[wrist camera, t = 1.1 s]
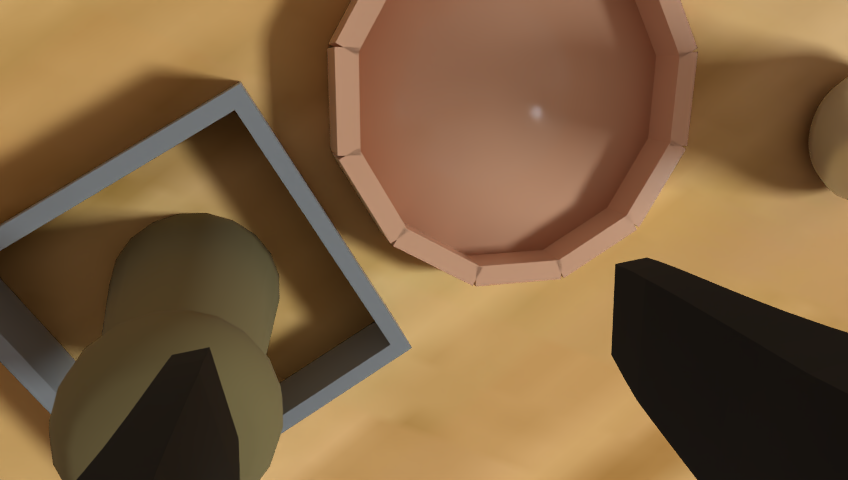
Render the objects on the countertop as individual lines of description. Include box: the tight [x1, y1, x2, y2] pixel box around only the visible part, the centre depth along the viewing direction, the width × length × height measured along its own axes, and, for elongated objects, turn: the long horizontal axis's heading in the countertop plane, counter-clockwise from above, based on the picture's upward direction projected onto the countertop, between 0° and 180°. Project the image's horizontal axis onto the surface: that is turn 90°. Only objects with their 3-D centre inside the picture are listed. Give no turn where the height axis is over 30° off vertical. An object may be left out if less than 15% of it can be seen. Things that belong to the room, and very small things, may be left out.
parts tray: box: [0, 81, 412, 433], centre depth 23 cm, size 11×11×2 cm
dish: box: [327, 0, 698, 286], centre depth 24 cm, size 14×14×2 cm
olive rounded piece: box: [49, 213, 283, 480], centre depth 19 cm, size 6×6×11 cm
